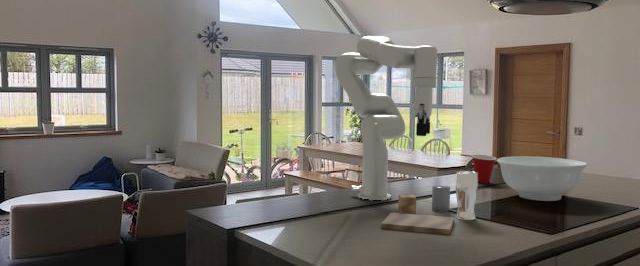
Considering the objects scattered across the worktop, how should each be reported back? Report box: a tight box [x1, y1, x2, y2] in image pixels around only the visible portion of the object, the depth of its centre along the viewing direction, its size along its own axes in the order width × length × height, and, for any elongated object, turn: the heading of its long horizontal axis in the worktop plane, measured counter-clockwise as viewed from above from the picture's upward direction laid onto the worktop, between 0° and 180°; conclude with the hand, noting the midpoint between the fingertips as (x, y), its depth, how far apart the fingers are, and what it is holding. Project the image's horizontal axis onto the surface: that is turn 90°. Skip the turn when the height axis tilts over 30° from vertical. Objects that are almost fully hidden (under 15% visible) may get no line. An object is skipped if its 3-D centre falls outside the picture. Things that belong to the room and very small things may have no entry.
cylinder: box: [431, 184, 451, 213], centre depth 194 cm, size 6×6×8 cm
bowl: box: [496, 155, 588, 202], centre depth 218 cm, size 32×32×15 cm
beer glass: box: [455, 170, 479, 221], centre depth 181 cm, size 7×7×15 cm
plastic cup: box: [471, 154, 498, 184], centre depth 252 cm, size 11×11×12 cm
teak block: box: [397, 193, 417, 214], centre depth 188 cm, size 5×5×6 cm
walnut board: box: [380, 212, 455, 235], centre depth 172 cm, size 20×16×2 cm
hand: (423, 134), depth 188 cm, fingers open, 9 cm apart
